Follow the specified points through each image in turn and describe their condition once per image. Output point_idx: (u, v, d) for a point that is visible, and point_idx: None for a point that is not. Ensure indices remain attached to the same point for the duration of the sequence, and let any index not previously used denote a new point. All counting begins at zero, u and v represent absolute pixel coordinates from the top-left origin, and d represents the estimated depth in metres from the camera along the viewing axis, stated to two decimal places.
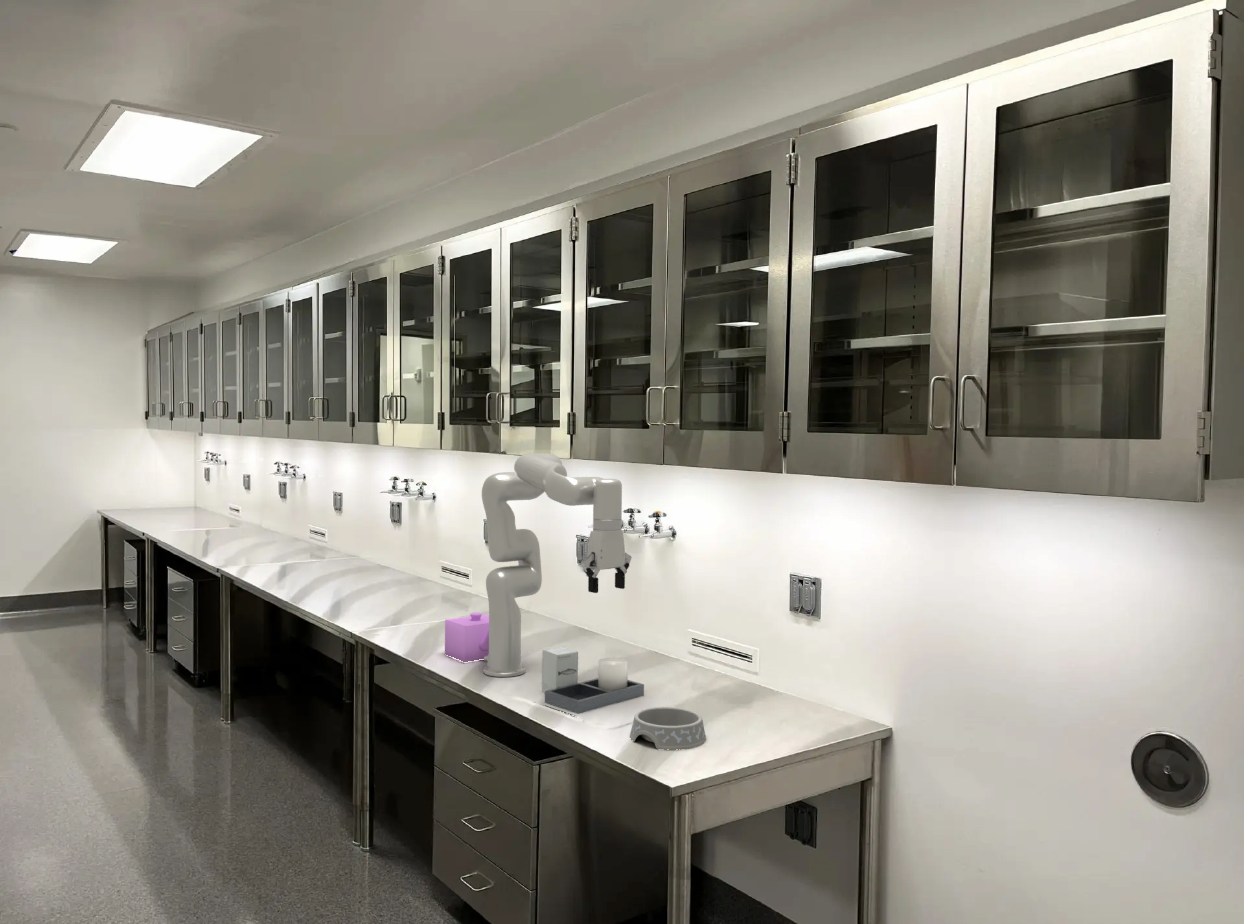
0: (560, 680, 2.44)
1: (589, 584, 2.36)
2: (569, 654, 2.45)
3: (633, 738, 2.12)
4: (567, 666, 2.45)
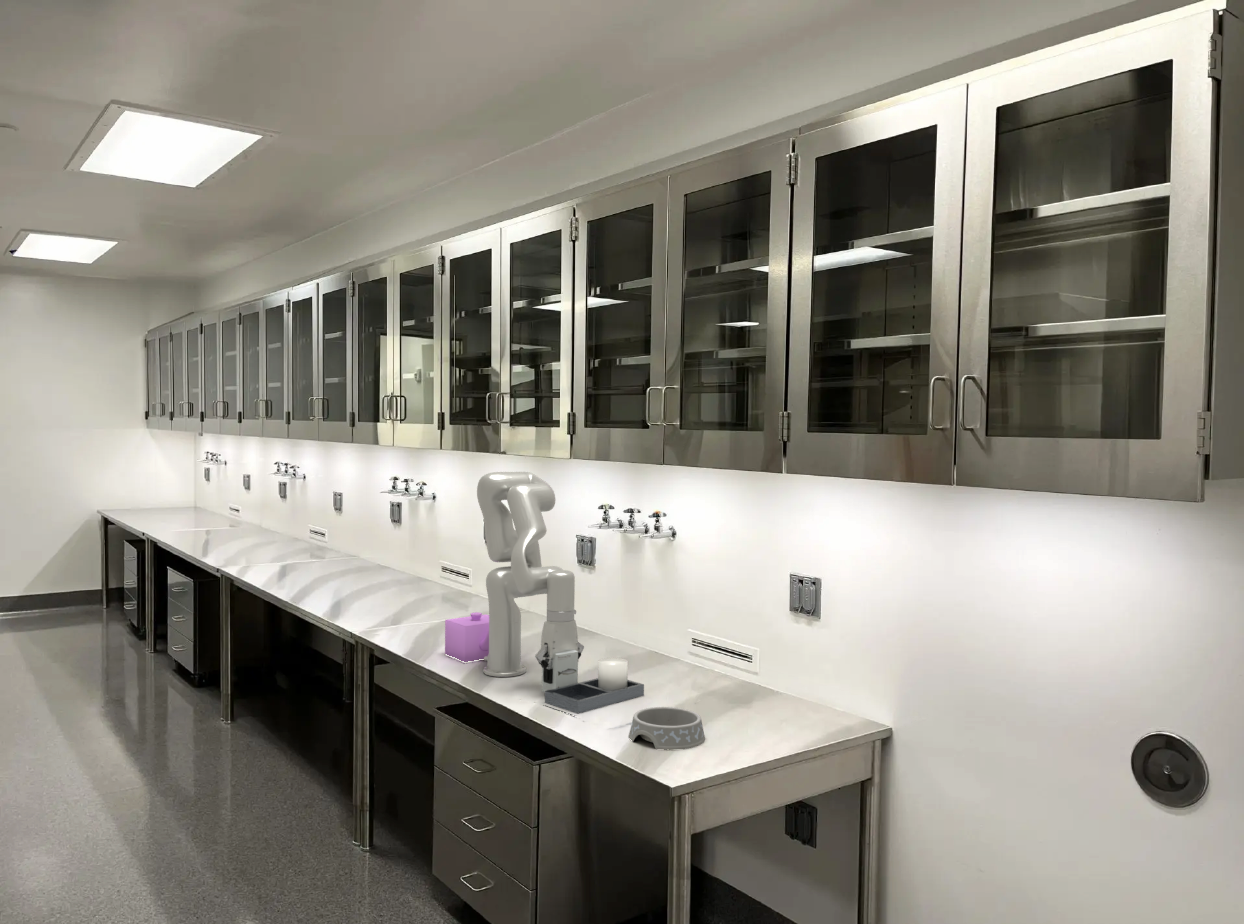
0: (560, 680, 2.44)
1: (544, 675, 2.44)
2: (569, 654, 2.45)
3: (632, 738, 2.12)
4: (567, 666, 2.45)
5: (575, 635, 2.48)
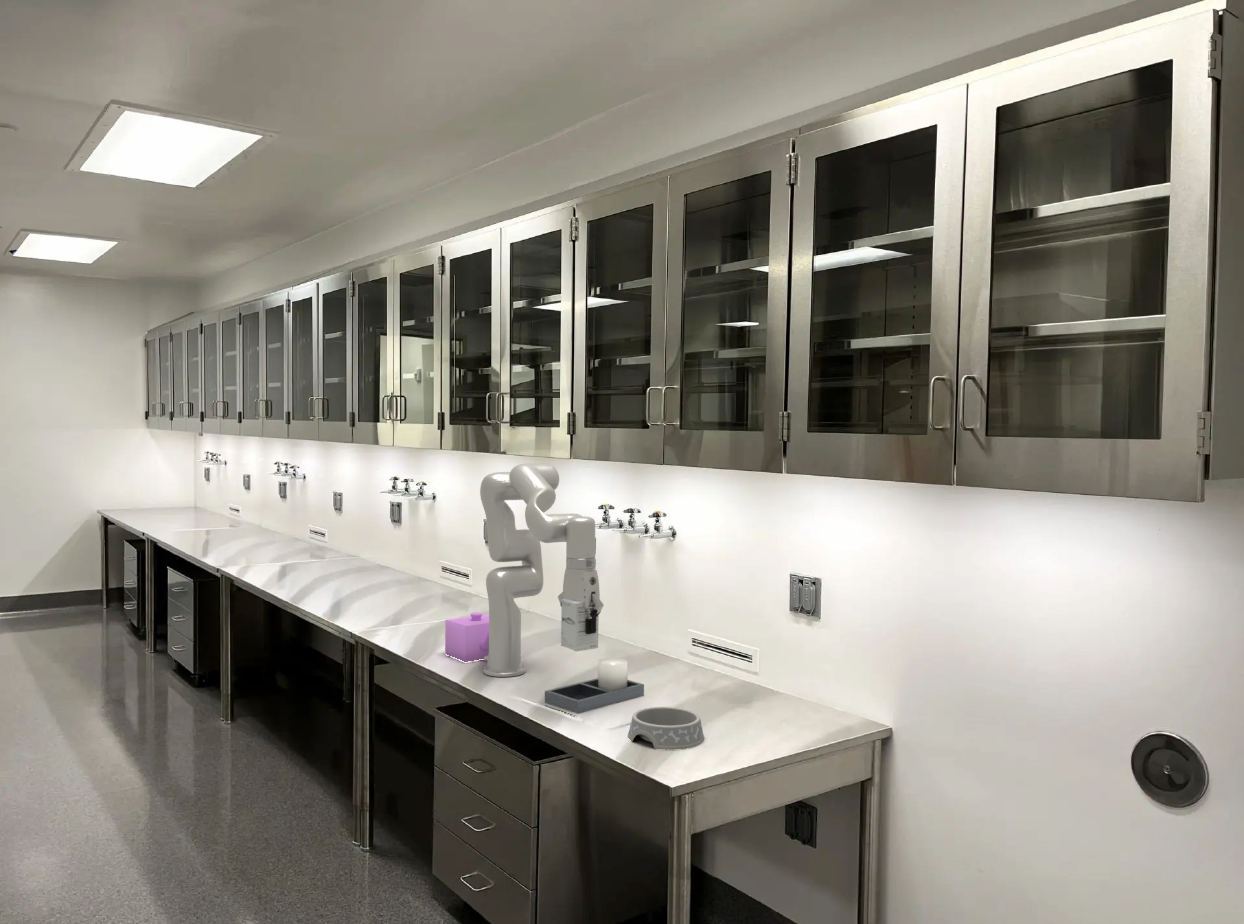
0: (563, 627, 2.37)
1: None
2: (569, 603, 2.35)
3: (631, 738, 2.12)
4: (568, 615, 2.35)
5: (583, 587, 2.33)
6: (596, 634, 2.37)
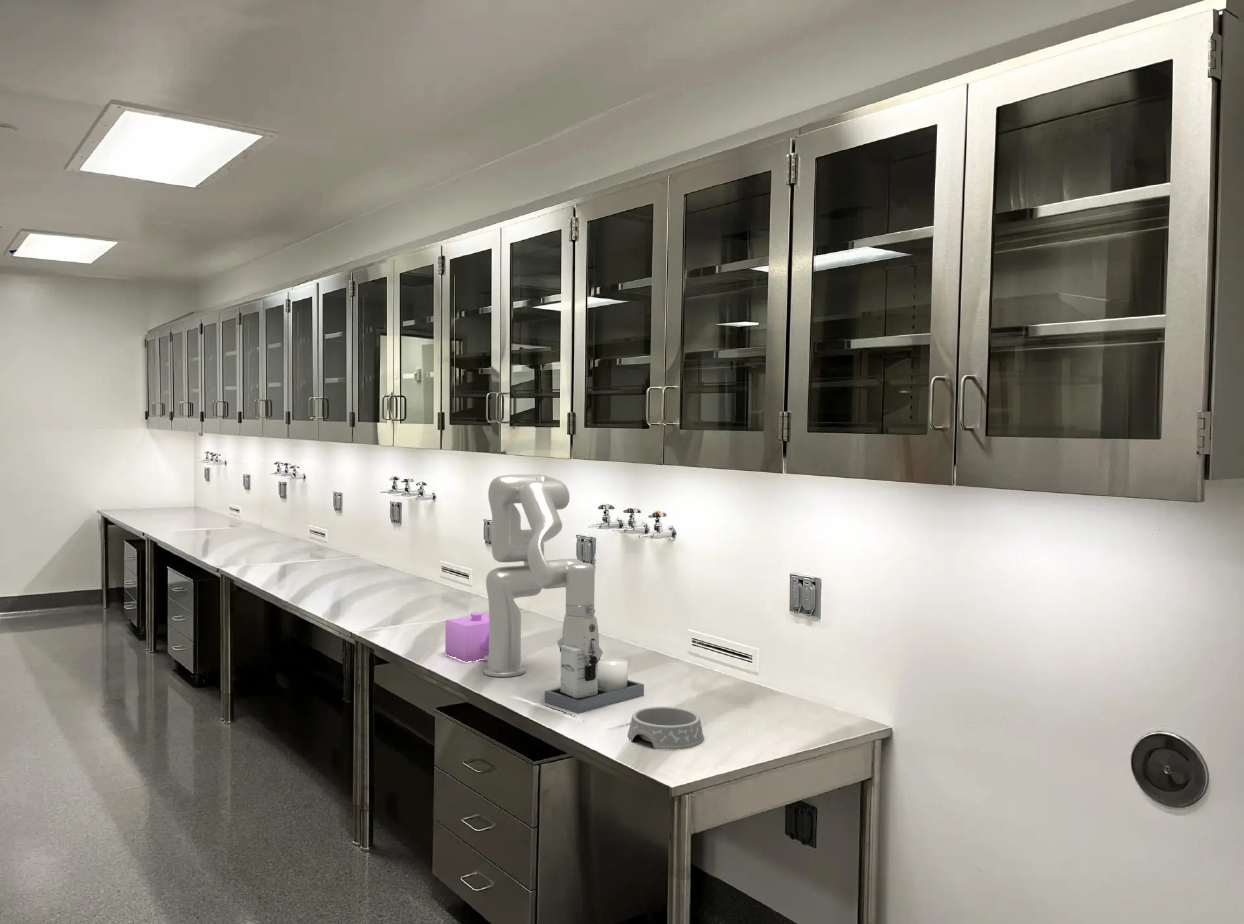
0: (563, 673, 2.37)
1: None
2: (569, 650, 2.35)
3: (631, 738, 2.12)
4: (567, 661, 2.36)
5: (582, 634, 2.34)
6: (595, 680, 2.37)
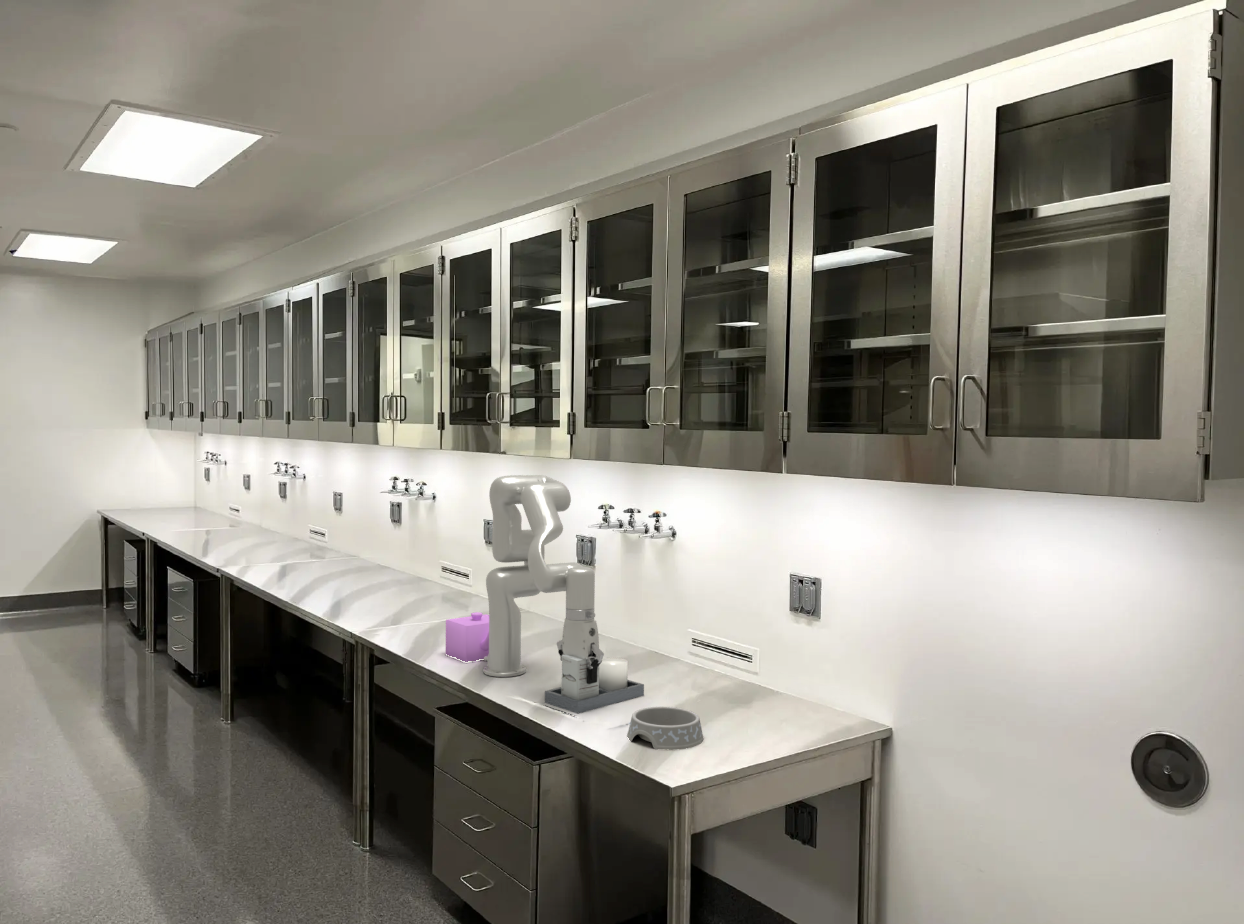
0: (564, 683, 2.37)
1: None
2: (570, 660, 2.35)
3: (630, 738, 2.12)
4: (568, 671, 2.35)
5: (582, 638, 2.34)
6: (597, 690, 2.37)
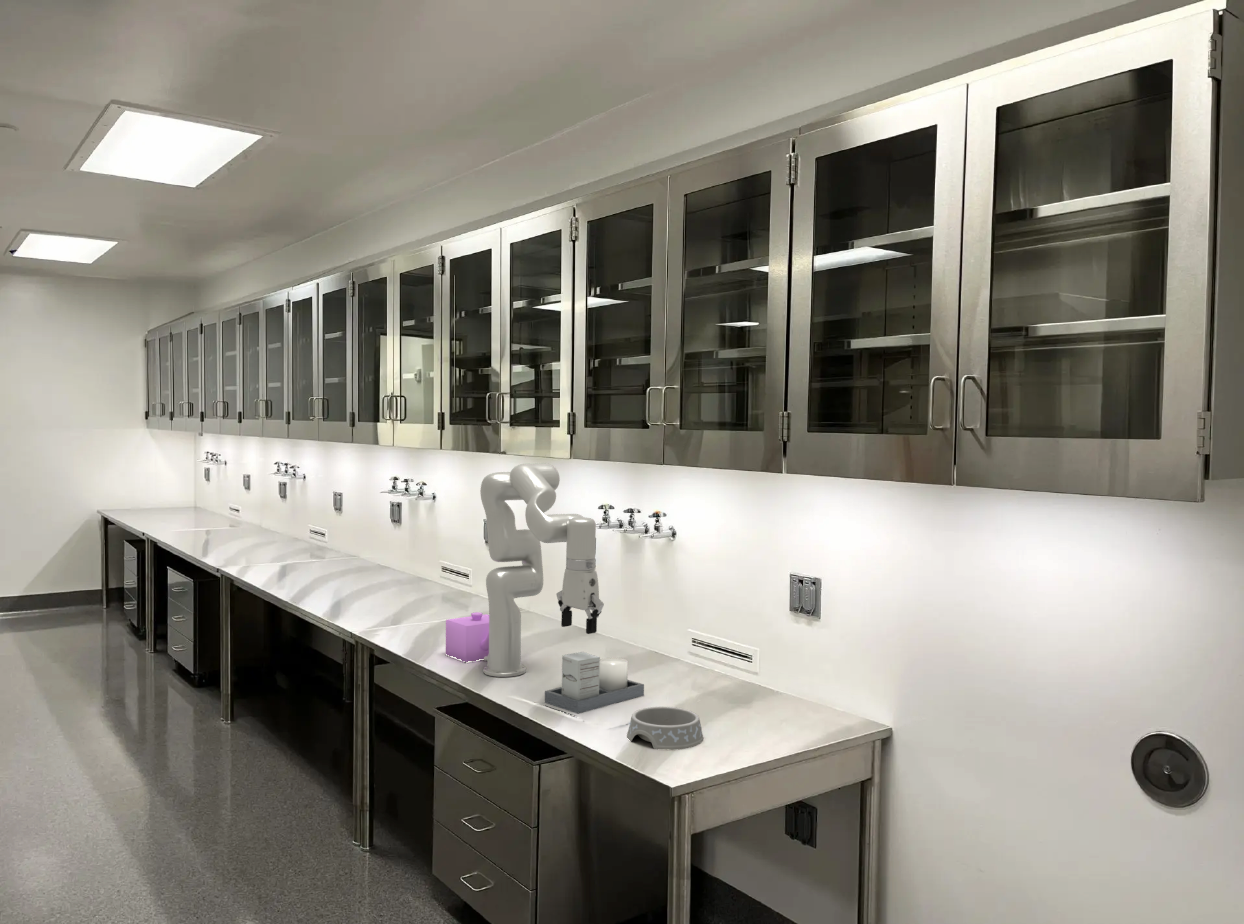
0: (564, 683, 2.37)
1: None
2: (571, 660, 2.35)
3: (630, 738, 2.12)
4: (569, 671, 2.35)
5: (582, 588, 2.33)
6: (597, 690, 2.37)
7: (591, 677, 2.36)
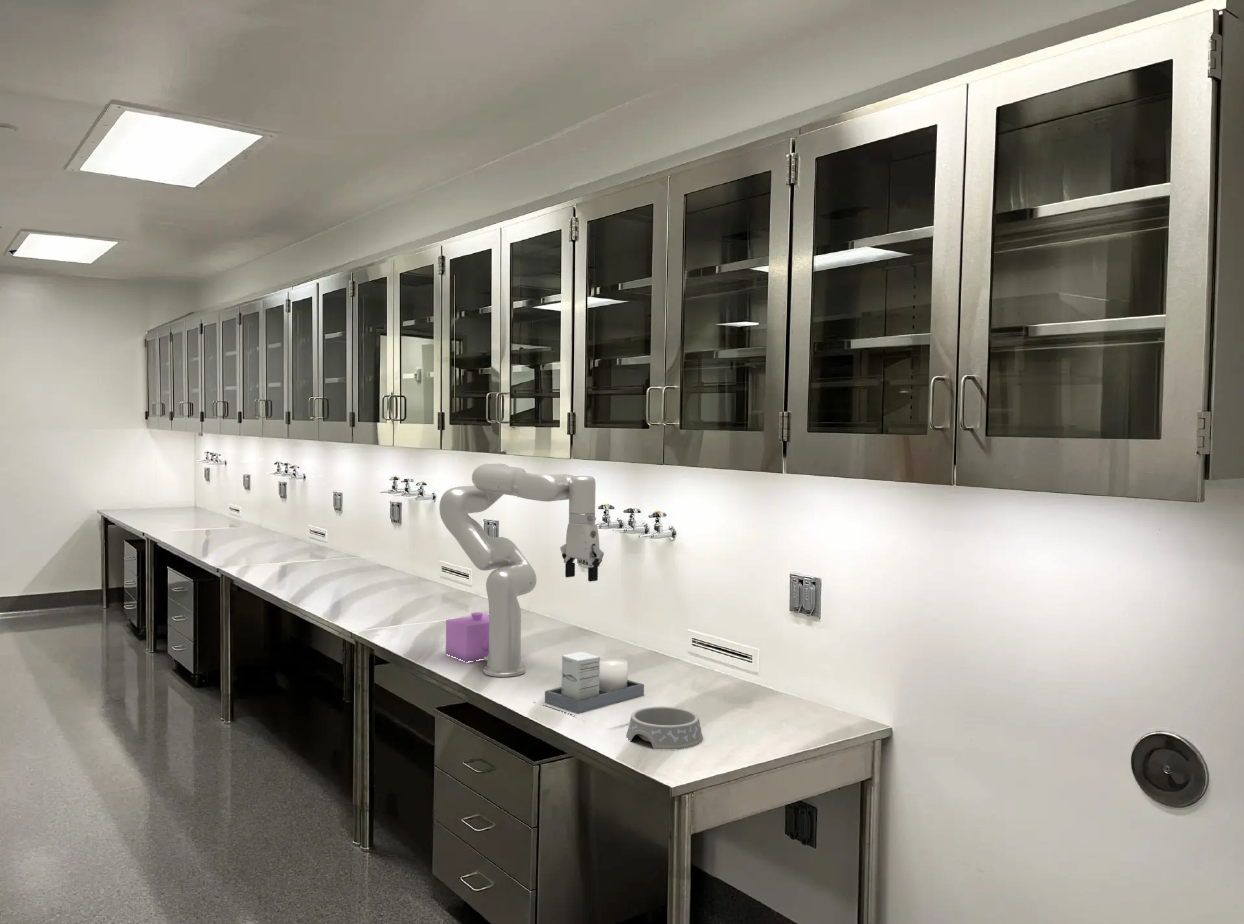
0: (564, 683, 2.37)
1: None
2: (571, 660, 2.35)
3: (630, 738, 2.12)
4: (569, 671, 2.35)
5: (584, 540, 2.55)
6: (597, 690, 2.37)
7: (591, 677, 2.36)
